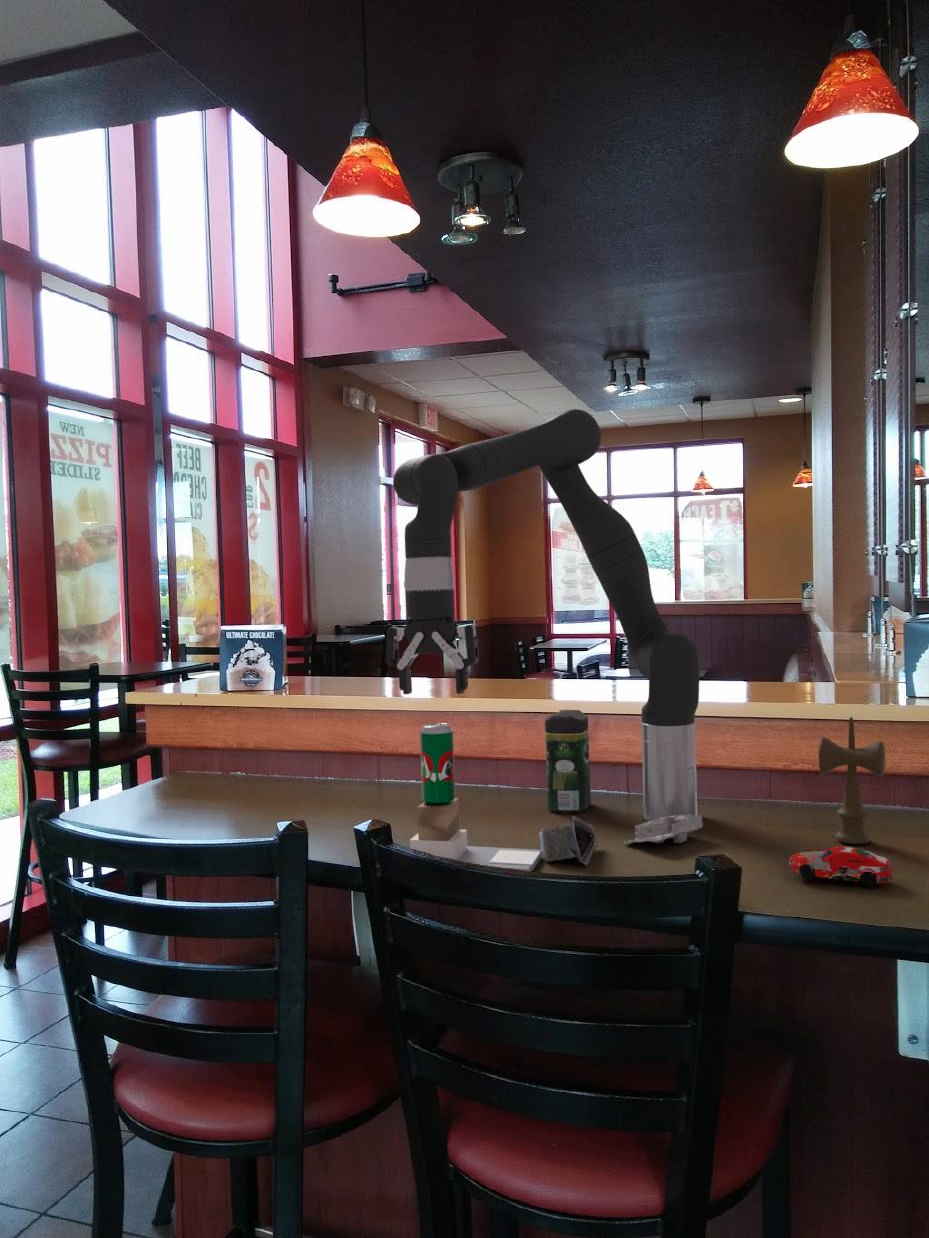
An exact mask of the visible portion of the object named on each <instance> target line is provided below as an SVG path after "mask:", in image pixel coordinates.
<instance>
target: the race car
mask: <svg viewBox="0 0 929 1238" xmlns="http://www.w3.org/2000/svg"><path fill="white" fill-rule="evenodd" d="M788 865H789V868H790V870H791V871H793V872H794V873H796V874H800V875H801V877H803V878H804V879H813V877H814V876H815V877H816V878H824V879H832V880H833V879H834V880H840V881H849V882H857V883H858V882H859V883H860V882H861V883H862V884H863V885H865V886H868V887H871V886H873V885H874V884H885V883H889V882H892V881H893V880H892V877H893V869H892V868H891V867H890V861H889V859H888V858H887V857H884V856H881V855H879V854H875V853H873V852H871V851H869V850H865V849H861V848H857V847H850V846H838V845H837V846H832V847H830V848H828V847H827V848H826V849H823V850H819V851H818V850H817V851H816V850H815V851H800V852H797V853H794V854H792V855H791V856H790V858H789V861H788Z"/></svg>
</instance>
